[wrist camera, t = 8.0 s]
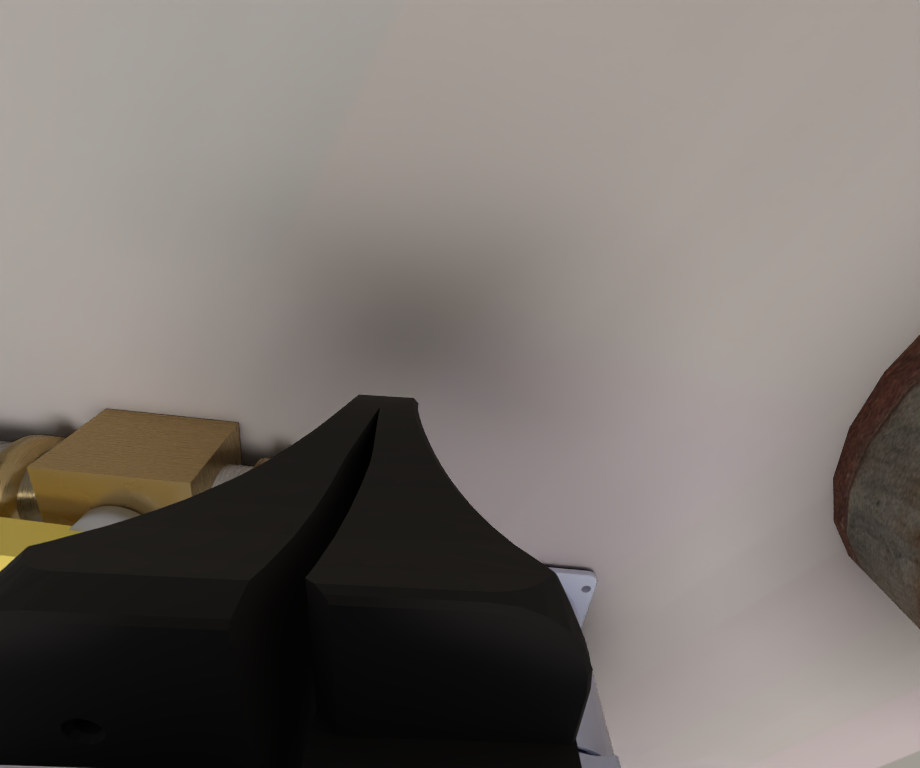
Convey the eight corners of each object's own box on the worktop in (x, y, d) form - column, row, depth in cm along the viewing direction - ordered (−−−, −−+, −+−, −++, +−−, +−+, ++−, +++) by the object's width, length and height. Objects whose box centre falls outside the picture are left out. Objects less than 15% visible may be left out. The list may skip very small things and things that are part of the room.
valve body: (408, 440, 23) (398, 503, 19) (399, 536, 26) (388, 609, 22) (-78, 389, 22) (-202, 444, 18) (-37, 495, 25) (-137, 565, 20)
